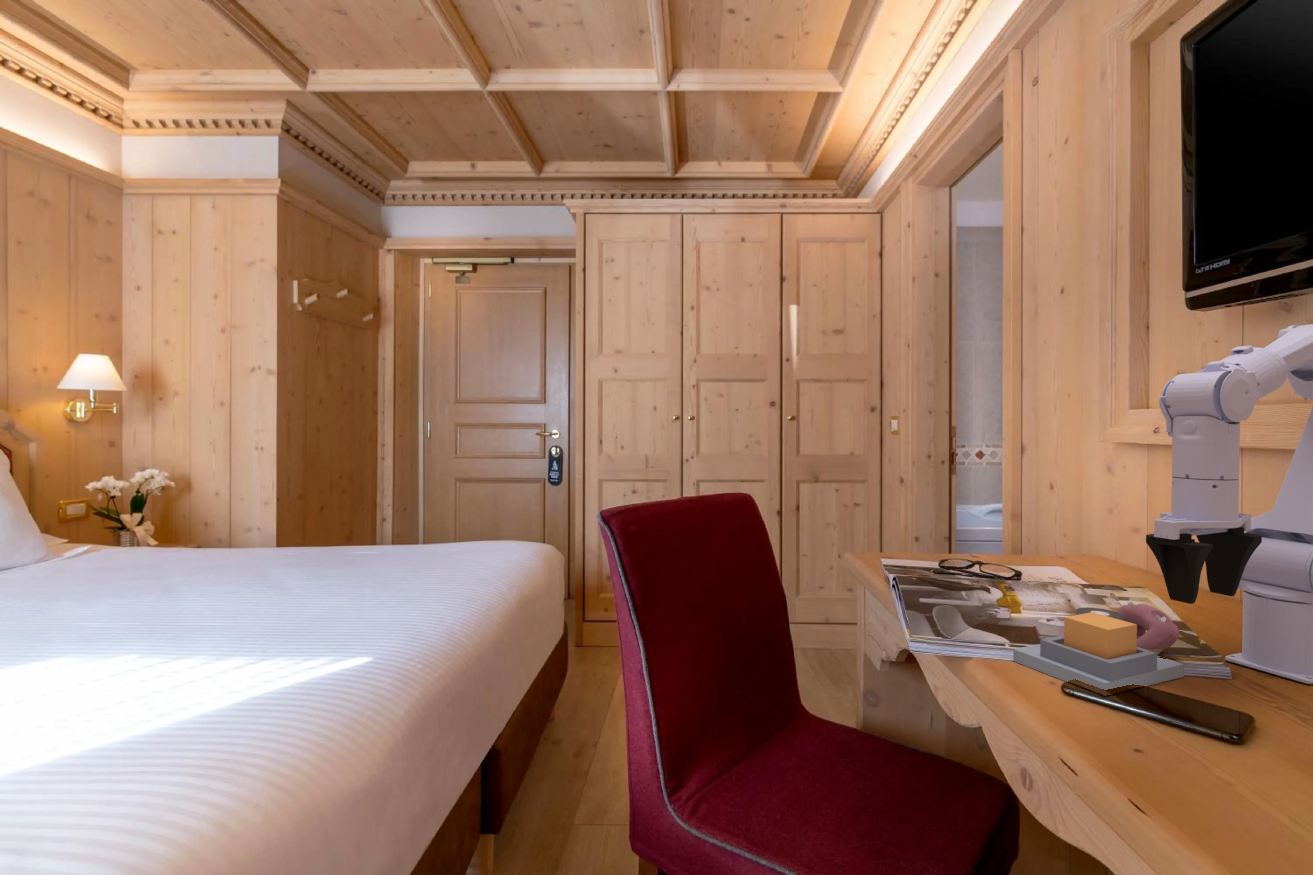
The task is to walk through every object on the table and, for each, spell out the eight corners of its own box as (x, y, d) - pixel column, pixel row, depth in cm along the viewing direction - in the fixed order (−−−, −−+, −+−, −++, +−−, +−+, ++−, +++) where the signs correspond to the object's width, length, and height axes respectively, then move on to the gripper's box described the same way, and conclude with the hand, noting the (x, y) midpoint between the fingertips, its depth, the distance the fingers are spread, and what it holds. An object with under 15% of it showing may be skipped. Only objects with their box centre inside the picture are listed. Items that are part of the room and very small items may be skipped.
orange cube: (1091, 652, 76) (1092, 612, 76) (1136, 667, 71) (1136, 624, 71) (1064, 658, 74) (1064, 617, 74) (1107, 674, 69) (1108, 629, 69)
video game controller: (1164, 675, 77) (1194, 627, 76) (1127, 657, 77) (1157, 608, 77) (1121, 647, 86) (1147, 604, 86) (1089, 631, 87) (1114, 588, 86)
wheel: (1092, 633, 82) (1093, 605, 82) (1133, 645, 78) (1133, 616, 78) (1067, 638, 81) (1067, 609, 80) (1107, 651, 76) (1107, 621, 76)
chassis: (1087, 645, 83) (1088, 619, 83) (1183, 676, 72) (1184, 647, 72) (1013, 660, 77) (1013, 633, 77) (1105, 696, 67) (1105, 664, 67)
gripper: (1200, 473, 76) (1199, 582, 77) (1125, 477, 71) (1123, 595, 71) (1275, 477, 70) (1273, 597, 70) (1197, 482, 64) (1195, 612, 65)
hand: (1202, 597), depth 70 cm, fingers open, 7 cm apart
